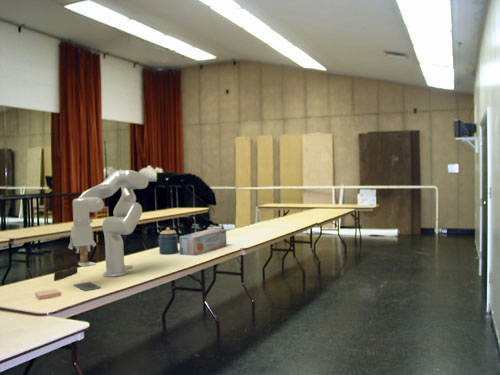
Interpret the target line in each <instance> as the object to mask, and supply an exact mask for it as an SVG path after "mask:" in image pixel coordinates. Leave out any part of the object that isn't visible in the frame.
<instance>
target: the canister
mask: <svg viewBox="0 0 500 375" xmlns="http://www.w3.org/2000/svg"><path fill="white" fill-rule="evenodd" d="M159 234H160V235H158V238H159V240H158V243H159V245H158V246H159V250H158V252H159V254H160V255H174V254H177V253H179V243H178V242H179V239H178V234H177V231H175V230H174V229H171V228H170V227H166V228H165V230H161V232H159Z"/></svg>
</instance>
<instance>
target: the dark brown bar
mask: <svg viewBox="0 0 500 375" xmlns="http://www.w3.org/2000/svg"><path fill="white" fill-rule="evenodd" d="M77 273H78V267H77V266H71V267H69V268H66V269H65V270H58V271H55V272H54V275H53V280H54V281H59V280H62V279H63V278H65V277H68V276H70V275H73V274H77Z"/></svg>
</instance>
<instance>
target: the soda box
mask: <svg viewBox="0 0 500 375" xmlns="http://www.w3.org/2000/svg"><path fill="white" fill-rule="evenodd" d="M178 242H179V243H178V245H179V255H182V256H200V255H202V254H206V253H208V252H212V251H216V250H219V249H220V248H223V247H227V242H228V241H227V229H224V228H208V229H205V230H202V231H201V230H200V231H196V232H193V233H188V234H184V235H180V236H179V237H178Z"/></svg>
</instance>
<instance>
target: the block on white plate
mask: <svg viewBox="0 0 500 375" xmlns="http://www.w3.org/2000/svg"><path fill="white" fill-rule="evenodd" d="M79 253H80V261H77V262H78V263H77V265H79V266H80V267H83V268H85V267H93V266H97V263H95V262H94V261H93V262H92V261H89V260H88V252H87V246H80V248H79Z"/></svg>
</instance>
